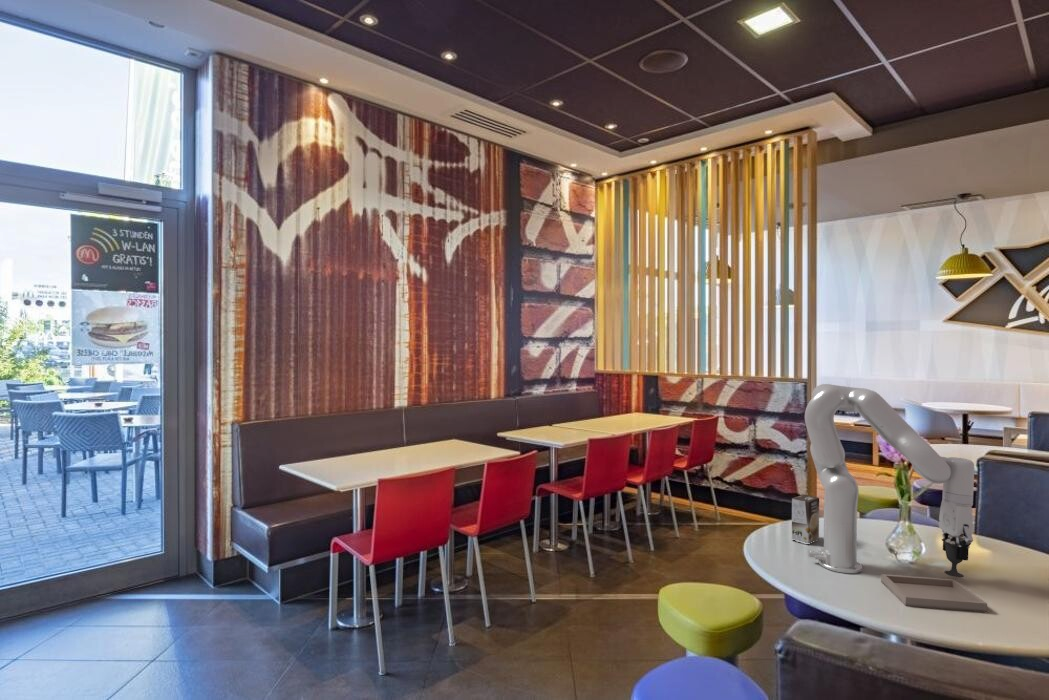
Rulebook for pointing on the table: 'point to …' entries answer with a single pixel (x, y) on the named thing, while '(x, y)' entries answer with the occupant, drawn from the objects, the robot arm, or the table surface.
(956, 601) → the tray
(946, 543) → the sundae
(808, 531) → the coffee box
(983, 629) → the table surface
